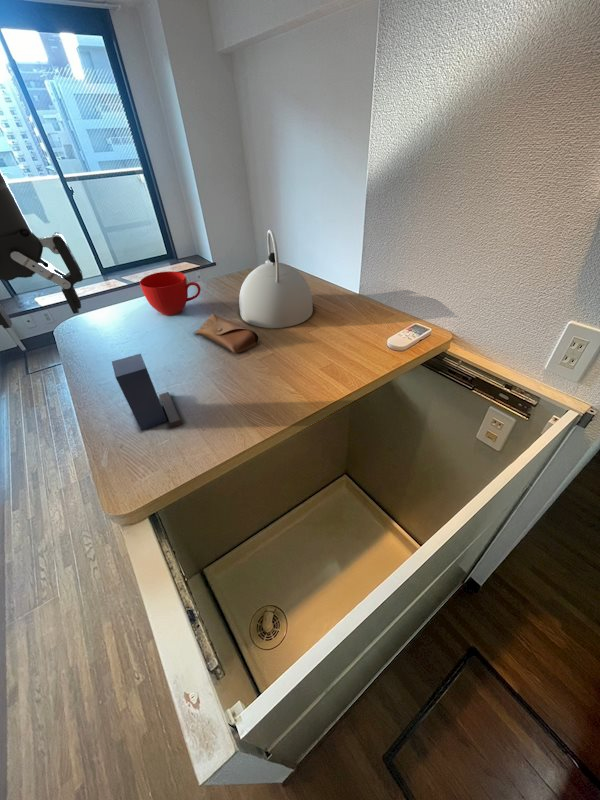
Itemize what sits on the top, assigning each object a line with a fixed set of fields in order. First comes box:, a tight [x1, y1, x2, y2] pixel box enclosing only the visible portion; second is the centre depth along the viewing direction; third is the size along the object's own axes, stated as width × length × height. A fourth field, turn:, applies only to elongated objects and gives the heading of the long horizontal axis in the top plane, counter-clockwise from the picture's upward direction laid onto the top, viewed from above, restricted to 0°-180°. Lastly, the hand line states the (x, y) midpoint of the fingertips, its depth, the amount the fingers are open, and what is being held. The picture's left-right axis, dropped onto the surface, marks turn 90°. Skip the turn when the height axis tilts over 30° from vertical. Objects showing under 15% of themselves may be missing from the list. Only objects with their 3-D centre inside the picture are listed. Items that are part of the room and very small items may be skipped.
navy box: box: [111, 353, 168, 431], centre depth 62 cm, size 5×6×13 cm
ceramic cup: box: [139, 270, 201, 316], centre depth 99 cm, size 13×17×10 cm
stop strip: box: [158, 391, 182, 428], centre depth 67 cm, size 2×10×1 cm, turn 30°
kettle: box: [238, 229, 314, 329], centre depth 95 cm, size 25×23×22 cm
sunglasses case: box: [194, 312, 259, 354], centre depth 89 cm, size 18×7×7 cm, turn 51°
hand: (43, 318), depth 47 cm, fingers open, 8 cm apart
